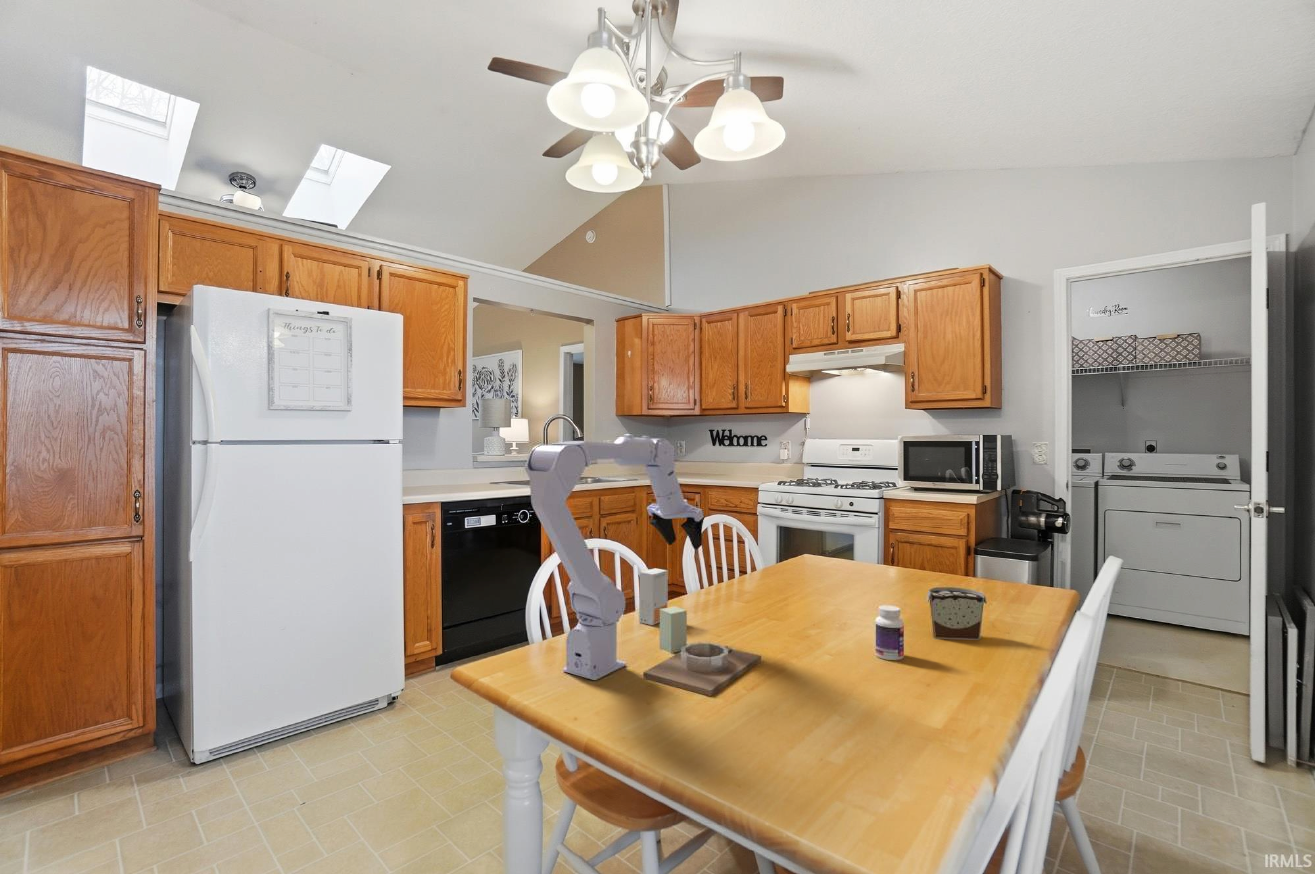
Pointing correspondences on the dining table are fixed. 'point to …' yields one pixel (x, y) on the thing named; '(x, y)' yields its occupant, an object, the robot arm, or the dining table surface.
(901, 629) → the pill bottle
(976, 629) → the food container
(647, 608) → the skincare box
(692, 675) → the cup bracket
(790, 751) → the dining table surface
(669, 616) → the sage peg
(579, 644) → the robot arm
